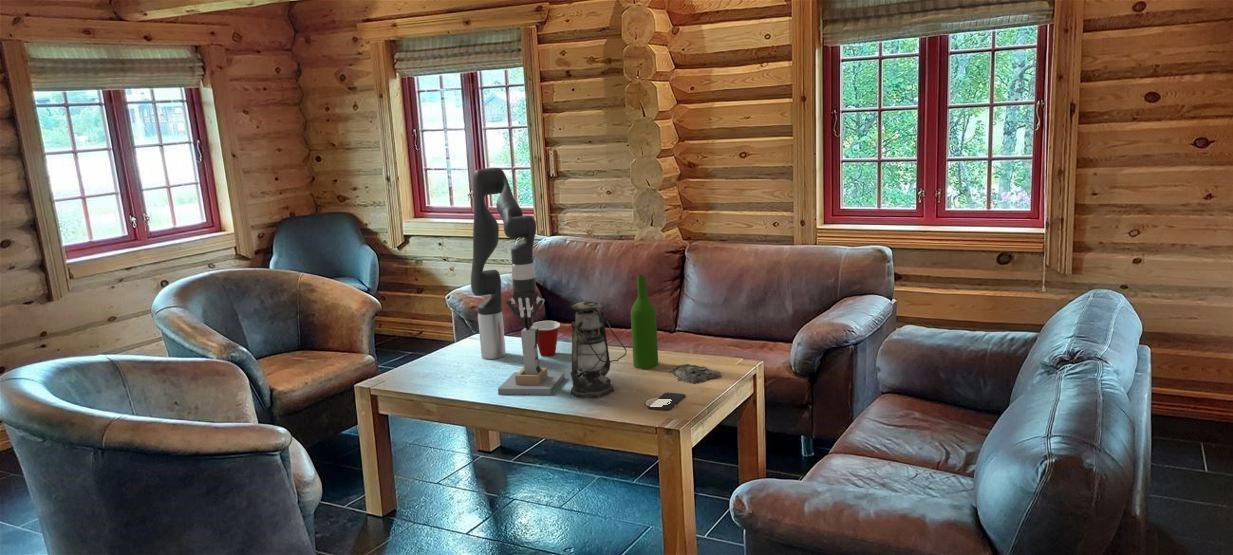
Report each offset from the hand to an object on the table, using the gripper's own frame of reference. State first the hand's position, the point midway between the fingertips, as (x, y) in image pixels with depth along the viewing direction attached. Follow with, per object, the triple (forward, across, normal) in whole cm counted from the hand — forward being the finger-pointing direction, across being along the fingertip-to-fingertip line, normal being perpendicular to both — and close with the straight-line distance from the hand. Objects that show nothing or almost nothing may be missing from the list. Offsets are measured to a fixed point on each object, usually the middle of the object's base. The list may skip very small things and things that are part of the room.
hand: (527, 327), depth 296 cm
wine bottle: (+21, -35, -24) cm, 47 cm away
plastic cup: (+21, +5, -38) cm, 43 cm away
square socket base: (+20, 0, 0) cm, 20 cm away
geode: (+21, -53, -12) cm, 58 cm away
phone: (+21, -48, +15) cm, 55 cm away
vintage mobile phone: (+17, -1, -1) cm, 17 cm away
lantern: (+21, -24, +6) cm, 32 cm away
